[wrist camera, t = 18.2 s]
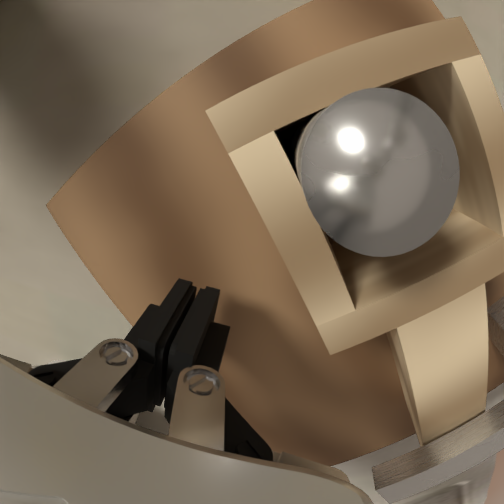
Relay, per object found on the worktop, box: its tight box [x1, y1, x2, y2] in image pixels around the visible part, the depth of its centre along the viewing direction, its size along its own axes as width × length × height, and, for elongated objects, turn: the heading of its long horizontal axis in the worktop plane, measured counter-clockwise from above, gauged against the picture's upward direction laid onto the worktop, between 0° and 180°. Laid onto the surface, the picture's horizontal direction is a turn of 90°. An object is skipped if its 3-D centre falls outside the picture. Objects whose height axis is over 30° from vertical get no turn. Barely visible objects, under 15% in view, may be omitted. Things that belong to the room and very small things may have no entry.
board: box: [46, 0, 504, 466], centre depth 14 cm, size 20×24×1 cm
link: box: [205, 16, 504, 447], centre depth 10 cm, size 17×7×5 cm, turn 27°
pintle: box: [291, 88, 460, 257], centre depth 8 cm, size 3×3×7 cm
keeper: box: [372, 296, 504, 504], centre depth 11 cm, size 10×2×7 cm, turn 123°
